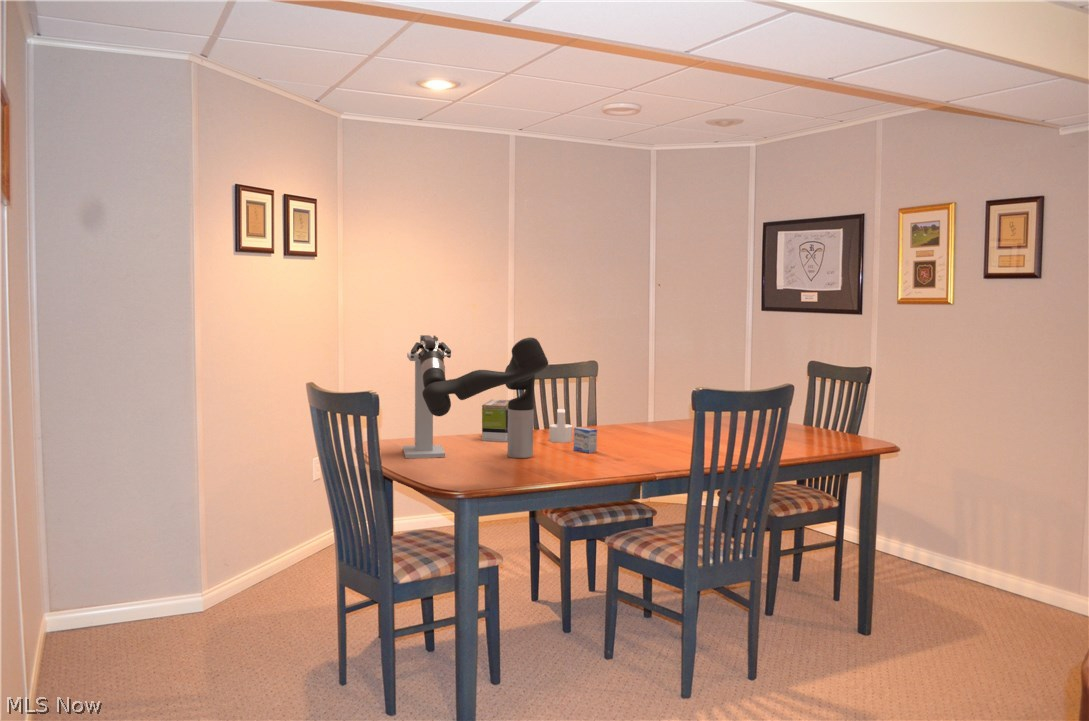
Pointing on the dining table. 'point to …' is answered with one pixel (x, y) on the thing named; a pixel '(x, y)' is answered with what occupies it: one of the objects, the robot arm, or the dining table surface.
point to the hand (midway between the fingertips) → (428, 337)
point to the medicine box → (585, 440)
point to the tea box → (495, 420)
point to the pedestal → (422, 422)
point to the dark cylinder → (429, 341)
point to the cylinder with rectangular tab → (560, 429)
